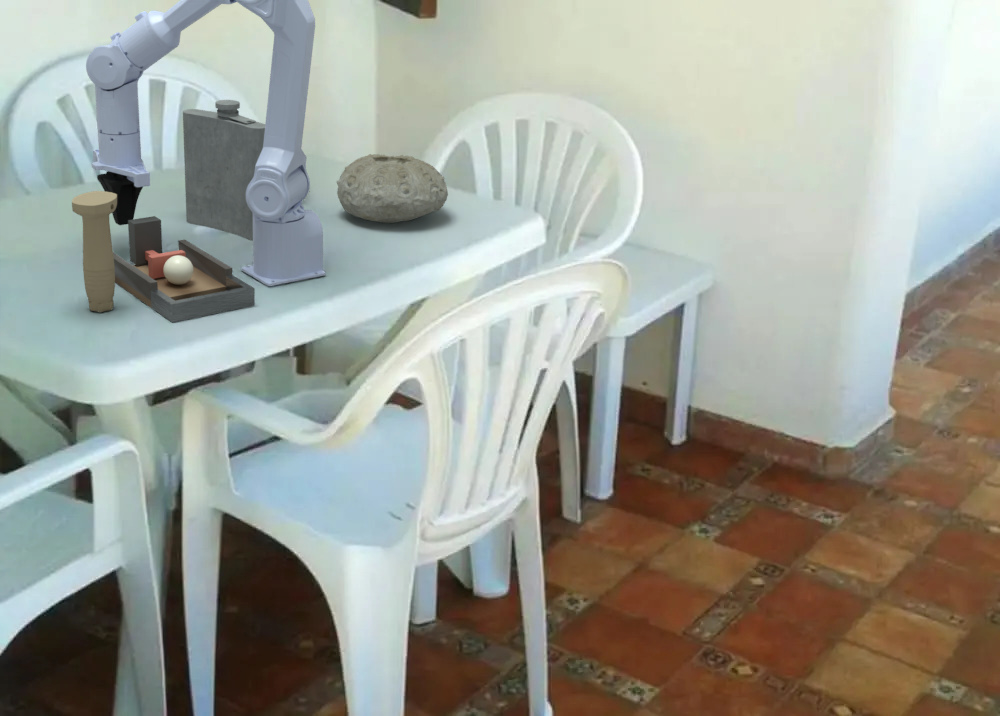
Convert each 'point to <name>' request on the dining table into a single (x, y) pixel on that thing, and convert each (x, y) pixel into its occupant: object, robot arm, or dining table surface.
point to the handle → (97, 247)
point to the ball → (178, 270)
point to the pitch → (203, 282)
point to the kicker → (148, 245)
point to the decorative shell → (391, 188)
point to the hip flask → (220, 166)
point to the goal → (205, 301)
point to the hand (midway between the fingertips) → (123, 223)
